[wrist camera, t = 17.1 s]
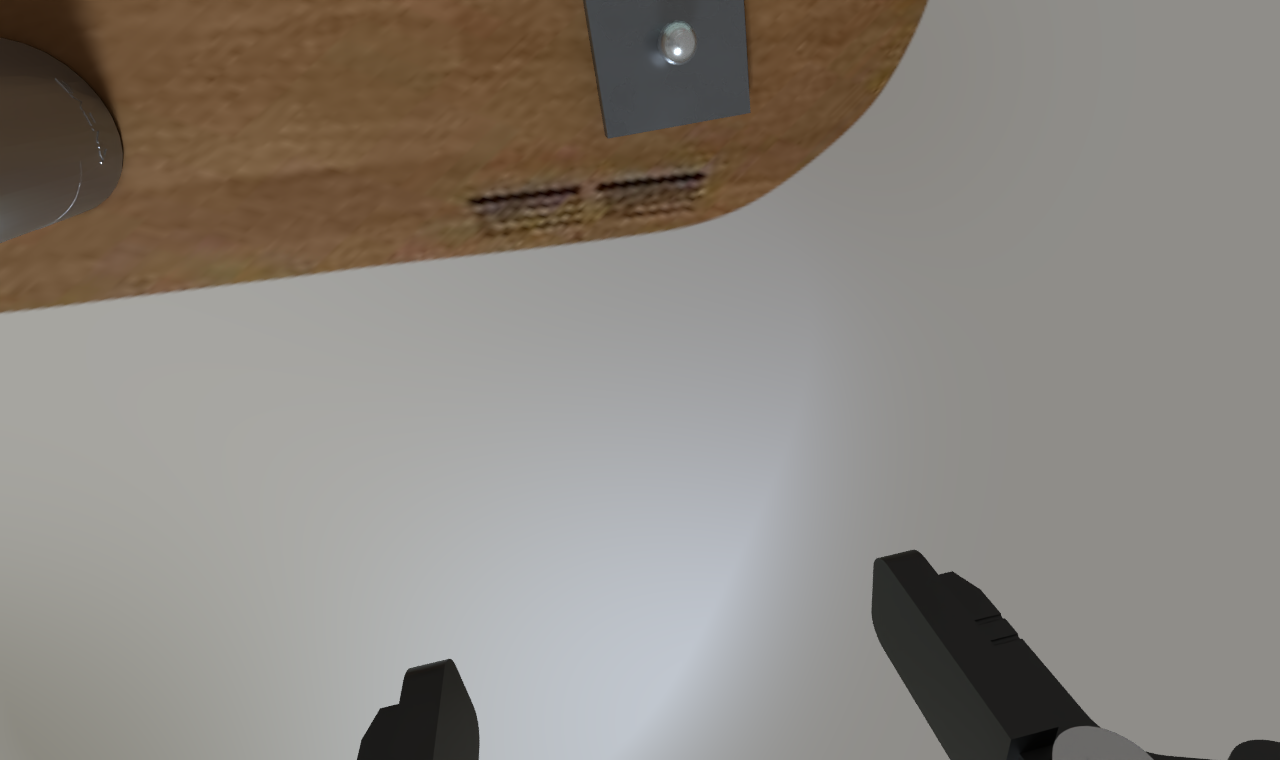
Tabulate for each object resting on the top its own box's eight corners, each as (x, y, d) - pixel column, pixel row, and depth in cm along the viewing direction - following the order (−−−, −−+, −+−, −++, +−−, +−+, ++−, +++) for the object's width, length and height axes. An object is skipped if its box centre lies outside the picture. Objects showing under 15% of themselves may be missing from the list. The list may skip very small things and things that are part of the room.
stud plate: (605, 135, 40) (614, 145, 36) (577, -33, 35) (584, -44, 31) (742, 110, 40) (766, 117, 36) (732, -58, 36) (757, -71, 32)
